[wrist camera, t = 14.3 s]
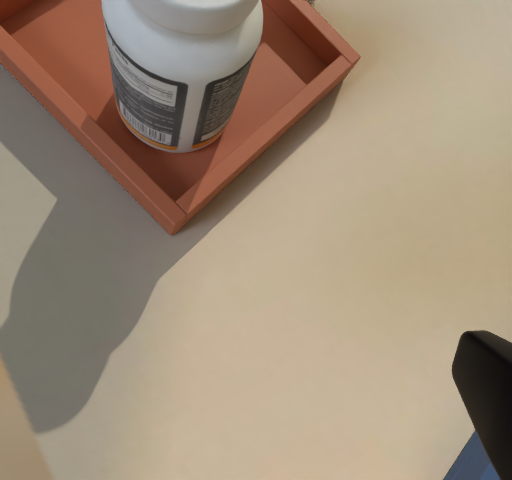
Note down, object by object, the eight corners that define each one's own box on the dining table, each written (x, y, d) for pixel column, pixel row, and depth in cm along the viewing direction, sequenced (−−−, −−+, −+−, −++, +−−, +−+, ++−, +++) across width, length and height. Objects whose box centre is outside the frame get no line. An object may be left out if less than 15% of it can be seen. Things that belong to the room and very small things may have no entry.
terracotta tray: (172, 236, 22) (174, 226, 20) (-30, 33, 22) (-47, 2, 20) (344, 78, 26) (361, 56, 24) (178, -94, 26) (180, -130, 24)
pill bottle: (210, 44, 24) (253, -148, 14) (245, 144, 23) (314, 10, 14) (100, 62, 22) (67, -142, 13) (133, 169, 22) (124, 37, 12)
